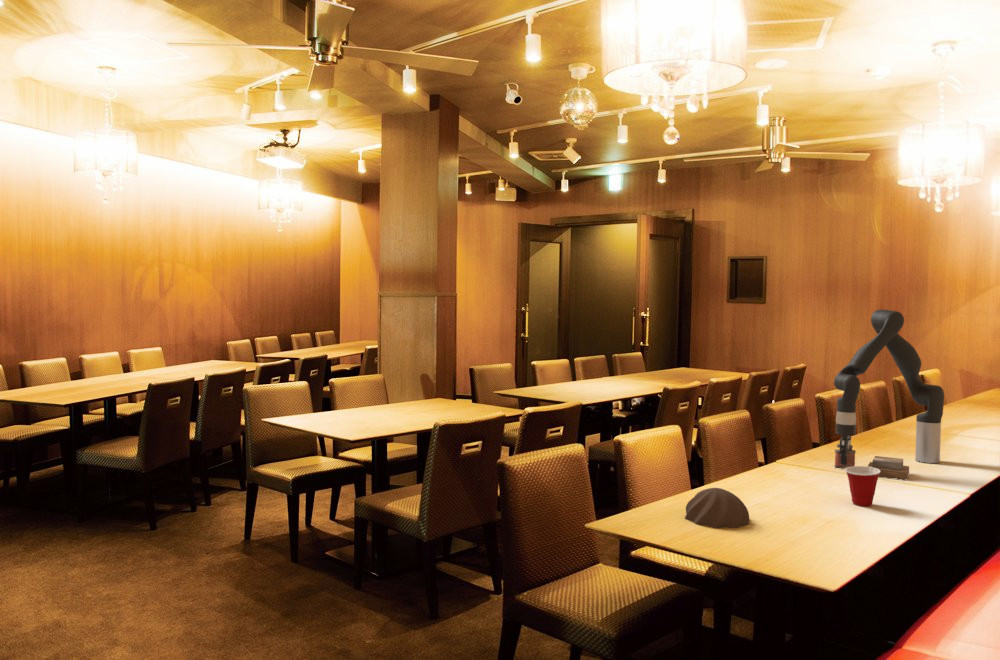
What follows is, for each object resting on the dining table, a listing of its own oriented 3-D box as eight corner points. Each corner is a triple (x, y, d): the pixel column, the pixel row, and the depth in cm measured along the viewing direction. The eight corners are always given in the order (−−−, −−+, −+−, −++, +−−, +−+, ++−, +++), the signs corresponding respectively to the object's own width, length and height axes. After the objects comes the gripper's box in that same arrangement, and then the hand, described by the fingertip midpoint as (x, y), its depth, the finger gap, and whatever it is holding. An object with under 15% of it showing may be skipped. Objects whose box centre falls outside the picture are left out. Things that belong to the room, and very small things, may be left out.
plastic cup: (836, 501, 252) (837, 466, 252) (860, 499, 256) (861, 464, 256) (862, 510, 242) (863, 473, 242) (887, 507, 246) (888, 471, 246)
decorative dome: (705, 531, 218) (706, 497, 218) (673, 513, 237) (673, 481, 237) (763, 527, 223) (764, 494, 223) (727, 509, 242) (727, 479, 242)
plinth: (870, 469, 304) (870, 454, 304) (909, 473, 297) (909, 458, 297) (866, 475, 293) (866, 460, 292) (906, 480, 285) (906, 464, 285)
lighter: (853, 467, 307) (853, 443, 307) (856, 469, 304) (857, 445, 303) (833, 467, 308) (833, 443, 308) (835, 468, 305) (836, 444, 304)
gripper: (853, 425, 297) (852, 467, 298) (858, 421, 309) (857, 461, 310) (833, 424, 301) (832, 465, 302) (838, 419, 313) (837, 459, 314)
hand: (844, 462), depth 306 cm, fingers open, 6 cm apart
